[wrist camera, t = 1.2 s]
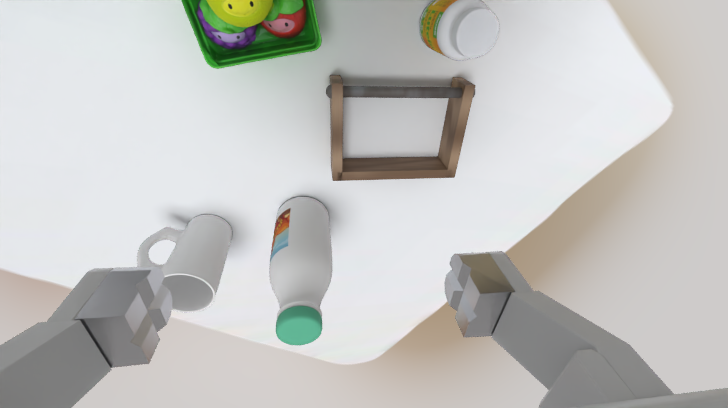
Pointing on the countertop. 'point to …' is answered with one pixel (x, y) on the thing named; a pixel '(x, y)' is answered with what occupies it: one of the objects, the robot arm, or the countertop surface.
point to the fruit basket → (252, 29)
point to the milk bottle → (300, 268)
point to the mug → (192, 261)
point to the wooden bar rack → (401, 166)
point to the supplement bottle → (459, 28)
